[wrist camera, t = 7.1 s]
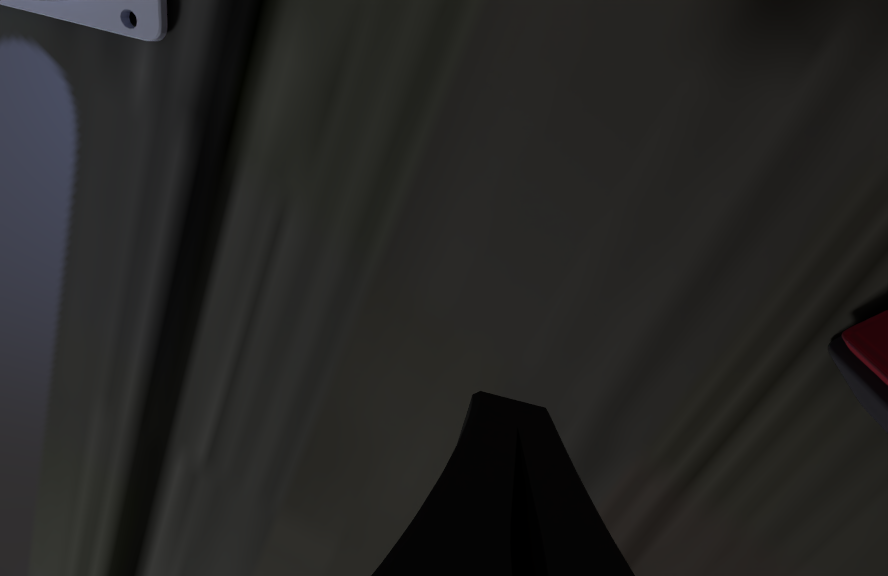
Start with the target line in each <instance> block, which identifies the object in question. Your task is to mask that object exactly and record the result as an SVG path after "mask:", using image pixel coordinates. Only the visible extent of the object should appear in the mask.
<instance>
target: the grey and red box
mask: <svg viewBox="0 0 888 576" xmlns="http://www.w3.org/2000/svg"><path fill="white" fill-rule="evenodd" d="M828 352H829V354H830V355H831V357H832V359H833V360H834V362H835V364H836V365H837V367H838V368H839V370H840V372H841V373H842V375H843V377H844V378H845V380H846V381H847V383H848V385H849V386H850V388H851V390H852V391H853V393H854V394H855V396H856V398H857V399H858V401H859V402H860V404H861V405H862V406H863V407H864V409H865V410H866V411H867V412H868V413H869V414H870V415H871V416H872V417H873V418H874V419H875V420H876V421H877V422H878V423H879V424H880V425H881V427H882V428H883V429H884V430H885V431H886V432H887V433H888V310H886V311H884V312H882V313H879V314H877V315H875V316H873V317H871V318H869V319H867V320H865V321H862V322H860V323H858V324H856V325H854V326H852V327H850V328H848V329H847V330H845V331H844V332H843V333H842V336H840V337H838V338H836V339H834V340H833V341H831V343H830V344H829V345H828Z"/></svg>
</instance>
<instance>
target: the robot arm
mask: <svg viewBox="0 0 888 576" xmlns="http://www.w3.org/2000/svg"><path fill="white" fill-rule="evenodd" d="M0 4H1V5H5V6H9V7H13V8H17V9H21V10H25V11H29V12H33V13H37V14H41V15H45V16H49V17H53V18H57V19H61V20H65V21H69V22H73V23H77V24H81V25H85V26H89V27H93V28H97V29H101V30H105V31H109V32H113V33H117V34H121V35H125V36H129V37H133V38H137V39H141V40H145V41H160V40H162V39H163V38H164V37H165V35H166V34H167V0H0ZM131 11H132V12H133V13H134V14H135V16H136V18H137V25H136V27H134V26H133V25H132V24H131V23H130V19H129V15H130V12H131ZM372 576H635V575H634V573H633V572H632V570H631V569H630V567H629V565H628V564H627V562H626V560H625V559H624V557H623V555H622V554H621V552H620V550H619V549H618V547H617V545H616V544H615V542H614V540H613V538H612V537H611V535H610V533H609V531H608V530H607V528H606V526H605V524H604V523H603V521H602V519H601V517H600V515H599V513H598V512H597V510H596V508H595V506H594V504H593V502H592V500H591V498H590V497H589V495H588V493H587V491H586V489H585V487H584V485H583V483H582V481H581V479H580V478H579V476H578V474H577V472H576V470H575V468H574V465H573V463H572V461H571V459H570V457H569V455H568V453H567V451H566V449H565V447H564V445H563V443H562V441H561V438H560V436H559V434H558V432H557V430H556V428H555V425H554V423H553V421H552V419H551V417H550V415H549V413H548V411H547V409H546V408H544V407H540V406H536V405H533V404H529V403H525V402H521V401H517V400H513V399H509V398H505V397H501V396H498V395H494V394H490V393H486V392H482V391H479V392H477V393H475V394H473V395H472V398H471V402H470V405H469V408H468V411H467V414H466V418H465V421H464V424H463V427H462V430H461V434H460V437H459V440H458V443H457V446H456V448H455V450H454V452H453V454H452V456H451V457H450V459H449V461H448V463H447V465H446V467H445V469H444V471H443V473H442V474H441V476H440V478H439V479H438V481H437V483H436V484H435V486H434V487H433V489H432V491H431V492H430V494H429V496H428V497H427V499H426V500H425V502H424V504H423V505H422V507H421V508H420V510H419V511H418V513H417V514H416V516H415V517H414V519H413V520H412V522H411V523H410V525H409V526H408V528H407V529H406V530H405V532H404V533H403V535H402V536H401V538H400V539H399V540H398V542H397V543H396V544H395V546H394V547H393V548H392V550H391V551H390V552H389V554H388V555H387V556H386V558H385V559H384V560H383V562H382V563H381V564H380V566H379V567H378V568H377V569H376V571H375V572H374V573H373V574H372Z"/></svg>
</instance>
